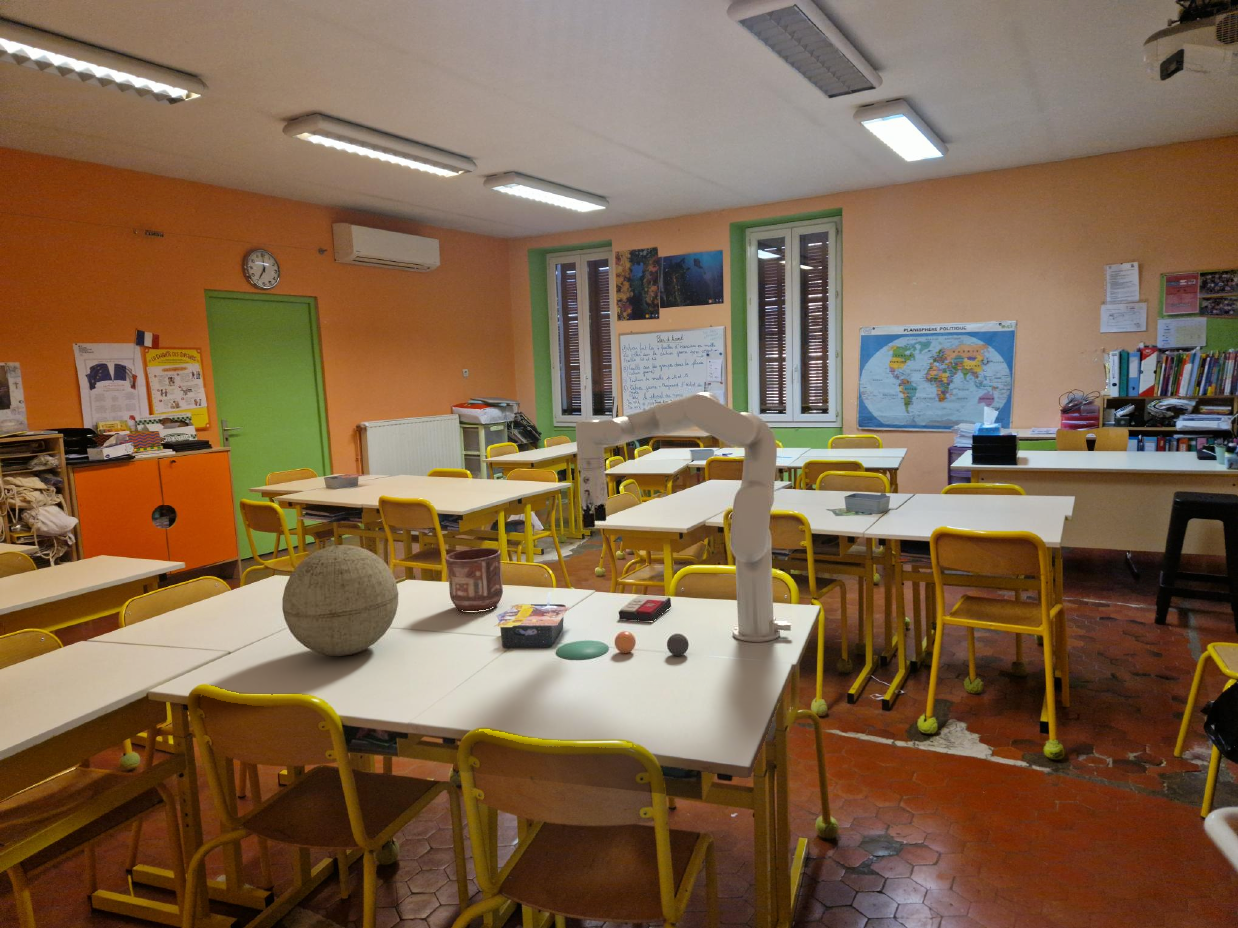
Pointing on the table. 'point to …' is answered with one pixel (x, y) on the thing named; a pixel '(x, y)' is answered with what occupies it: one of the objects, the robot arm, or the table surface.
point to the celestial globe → (340, 600)
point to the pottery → (475, 578)
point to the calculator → (645, 608)
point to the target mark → (582, 650)
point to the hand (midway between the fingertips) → (595, 524)
